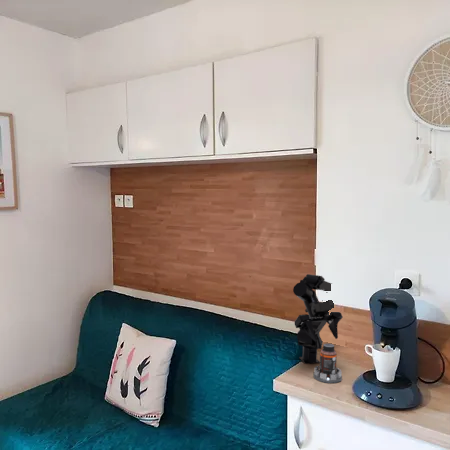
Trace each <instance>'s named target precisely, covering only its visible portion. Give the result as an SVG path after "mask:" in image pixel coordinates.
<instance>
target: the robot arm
mask: <svg viewBox="0 0 450 450" xmlns="http://www.w3.org/2000/svg"><path fill="white" fill-rule="evenodd" d="M331 284H332V283H331V282H330V281H326V280H325V278H324V277H323V275H317V274H311V273H310V274H308V273H307V274H306V276H304V277H303V278H302V279H300V280H299V282H298V283H296V284H295V285H294V286H293V288H292V290H293V291H292V292H293V294H294V295H295V296H296V297H297V298H298V299H299V300H301V301H303V303H304V306H305V310H304V311H305V313H304V314H298V316H297V317H296V319H295V320H294V326H295V329H299V330H298V331H297V334H296V337H297V345H298V346H302V356H299V357H298V358H299V360H301V361H302V363H304V364H306V365H307V364H320V359H318V356H317V355H318V350H319V349H320V350H322V348H323V344H324V343H323V342H324V341H323V339H322V338H321V336H320V332H321V331H322V330H323V328H324V327H325V325H326V324H328V325H327V326H328V329H329V330H330V332H331V334H332V336H333V337H334V338H335V340H338V337H339V334H338V324H339V322H340V321H341V320H342V319H343V314H342V313H341V311H340V312H331V313H330V315H329V312H328V311H329V310H331V309H332V308H334V303H333V301H332V300H328V301H326V302H323V301H320V300H319V298H318V296H317V294H316V291H323V292H324V291H331ZM306 313H307V314H306Z"/></svg>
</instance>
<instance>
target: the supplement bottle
mask: <svg viewBox="0 0 450 450" xmlns="http://www.w3.org/2000/svg"><path fill="white" fill-rule="evenodd" d="M319 353H320V354H319V361H320V363H319V366H320V373H326V374H327V377H330V374H336V368H337V352H336V350H335V344H333V343H323V344H322V348H321V349H320V351H319Z"/></svg>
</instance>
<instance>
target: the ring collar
mask: <svg viewBox="0 0 450 450" xmlns="http://www.w3.org/2000/svg"><path fill="white" fill-rule="evenodd" d="M313 369H314V371H313V378H314V380H316V381H318V382H320V383H324V384H339V383H341V382H342V380H343V375H342V369H341V368H339V367H336V374H330V377H327V374H326V373H320V365H316V366H315V367H314V368H313Z"/></svg>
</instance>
